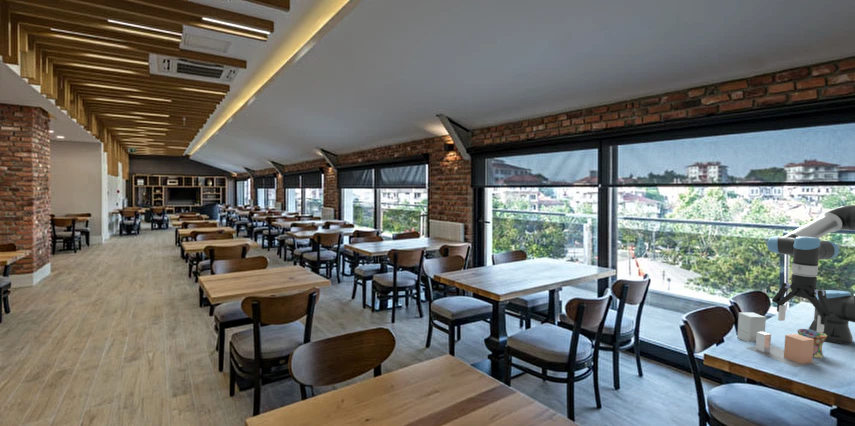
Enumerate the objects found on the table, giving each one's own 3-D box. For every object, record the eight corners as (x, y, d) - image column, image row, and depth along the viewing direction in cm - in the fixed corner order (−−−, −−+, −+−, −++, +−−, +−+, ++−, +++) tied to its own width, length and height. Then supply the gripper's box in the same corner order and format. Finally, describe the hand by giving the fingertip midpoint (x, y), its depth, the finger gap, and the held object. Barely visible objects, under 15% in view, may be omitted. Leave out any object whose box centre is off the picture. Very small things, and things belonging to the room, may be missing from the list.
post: (761, 349, 173) (762, 331, 172) (769, 352, 169) (771, 334, 169) (755, 349, 172) (756, 332, 171) (763, 353, 169) (765, 334, 168)
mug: (806, 351, 174) (808, 328, 173) (831, 360, 165) (833, 336, 164) (784, 353, 172) (786, 329, 171) (808, 362, 163) (810, 337, 162)
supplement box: (764, 343, 183) (766, 317, 182) (748, 343, 183) (750, 317, 182) (752, 337, 190) (753, 312, 189) (736, 337, 190) (738, 311, 189)
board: (769, 348, 178) (769, 344, 178) (820, 366, 159) (820, 363, 159) (745, 351, 174) (745, 347, 174) (794, 370, 156) (795, 366, 156)
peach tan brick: (794, 355, 166) (796, 333, 165) (812, 362, 160) (813, 339, 159) (783, 357, 164) (785, 335, 164) (801, 363, 158) (802, 340, 158)
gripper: (764, 268, 171) (760, 316, 172) (836, 282, 147) (831, 337, 148) (777, 268, 173) (773, 315, 174) (850, 281, 149) (845, 336, 150)
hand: (799, 325), depth 161 cm, fingers open, 13 cm apart
